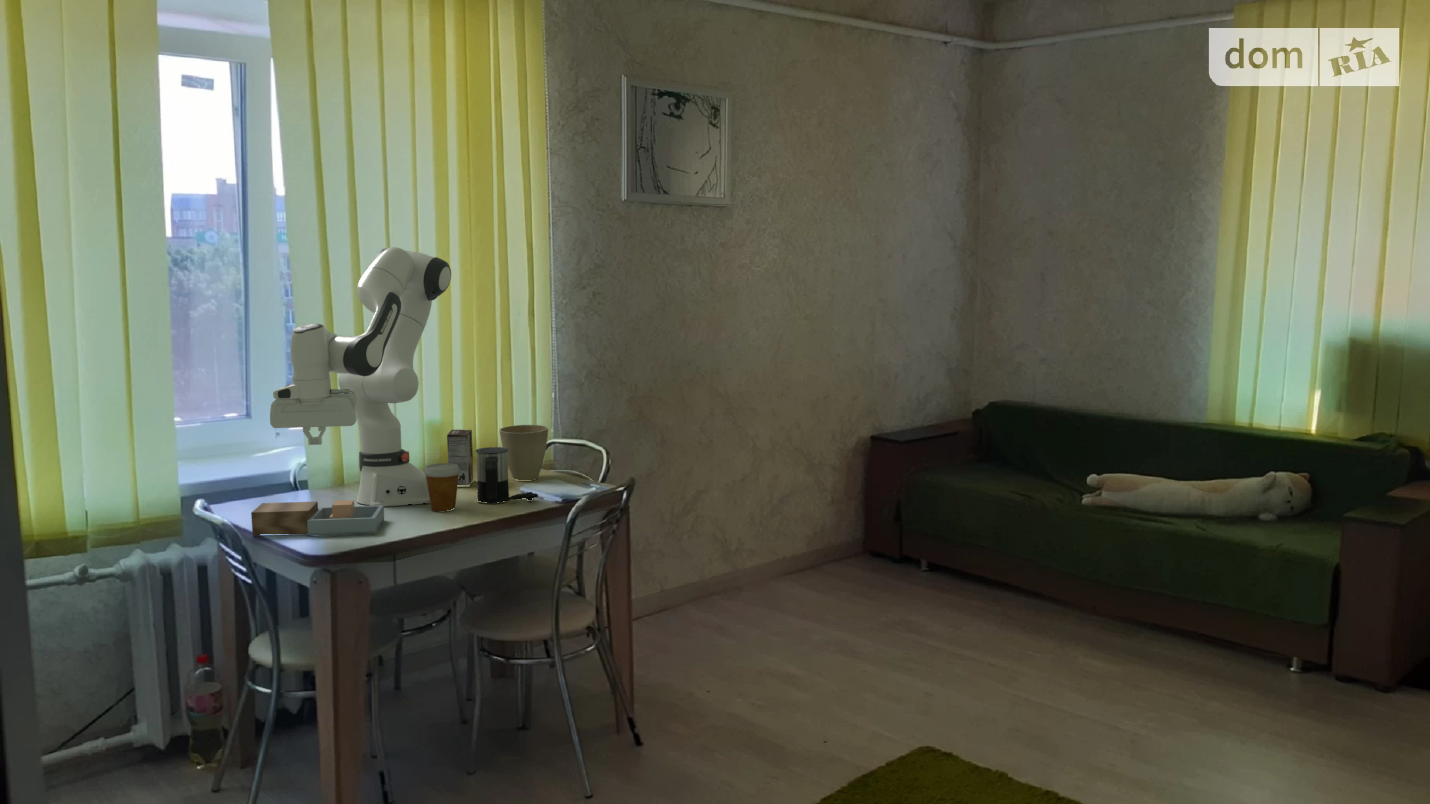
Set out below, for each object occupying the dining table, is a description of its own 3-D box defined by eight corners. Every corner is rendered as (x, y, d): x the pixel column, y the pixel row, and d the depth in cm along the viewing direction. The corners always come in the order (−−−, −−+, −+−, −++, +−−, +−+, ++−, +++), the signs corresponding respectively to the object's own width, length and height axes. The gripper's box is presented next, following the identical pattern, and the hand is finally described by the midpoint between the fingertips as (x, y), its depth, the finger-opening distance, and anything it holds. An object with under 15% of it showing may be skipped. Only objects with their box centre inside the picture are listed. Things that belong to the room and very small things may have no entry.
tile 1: (354, 511, 271) (354, 500, 271) (351, 516, 266) (350, 504, 266) (336, 512, 271) (335, 500, 270) (332, 517, 266) (332, 505, 265)
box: (384, 520, 277) (383, 505, 277) (375, 533, 263) (374, 518, 263) (320, 522, 275) (319, 507, 274) (308, 536, 261) (307, 520, 260)
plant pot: (502, 475, 334) (501, 425, 332) (550, 474, 336) (549, 424, 334) (498, 485, 320) (497, 432, 318) (548, 483, 321) (547, 432, 319)
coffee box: (452, 481, 325) (451, 429, 323) (474, 481, 325) (472, 429, 323) (447, 487, 316) (446, 434, 314) (469, 487, 316) (468, 434, 314)
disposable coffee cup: (467, 506, 292) (465, 463, 291) (451, 514, 283) (449, 470, 282) (435, 504, 295) (434, 462, 293) (418, 512, 285) (417, 468, 284)
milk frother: (473, 499, 301) (471, 447, 299) (527, 493, 308) (526, 443, 306) (485, 510, 289) (484, 456, 287) (541, 504, 296) (540, 451, 294)
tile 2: (332, 512, 270) (333, 523, 271) (329, 517, 266) (330, 528, 266) (351, 511, 271) (351, 523, 272) (348, 516, 266) (348, 528, 267)
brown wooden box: (318, 524, 273) (317, 501, 272) (309, 534, 263) (308, 510, 262) (263, 526, 271) (262, 503, 270) (252, 536, 261) (251, 512, 260)
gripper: (357, 387, 268) (360, 440, 271) (272, 389, 265) (276, 443, 267) (353, 390, 262) (356, 445, 264) (266, 392, 259) (269, 448, 261)
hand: (315, 444), depth 266 cm, fingers closed
